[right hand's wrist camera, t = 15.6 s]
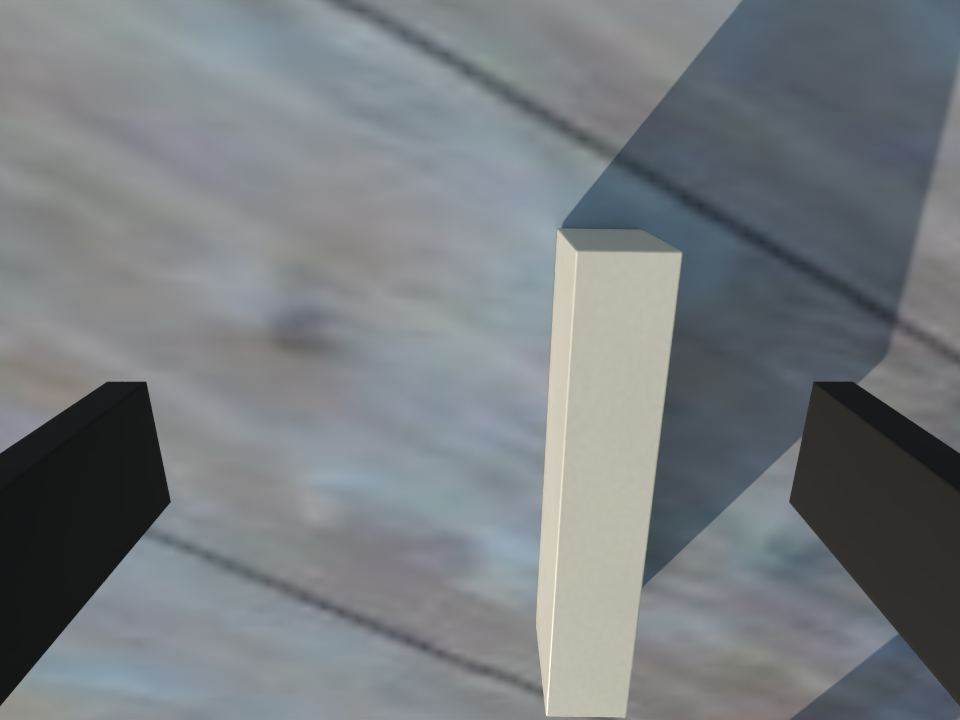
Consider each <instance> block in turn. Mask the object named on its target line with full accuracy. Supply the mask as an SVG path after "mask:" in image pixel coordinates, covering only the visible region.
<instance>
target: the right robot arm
mask: <svg viewBox="0 0 960 720" xmlns="http://www.w3.org/2000/svg"><path fill="white" fill-rule="evenodd" d="M170 502H171V501H170V496H169V491H168V486H167V481H166V476H165V471H164V466H163V462H162V457H161V452H160V447H159V442H158V437H157V432H156V427H155V422H154V417H153V412H152V407H151V403H150V398H149V393H148V388H147V383H146V382H106V383H105V384H103V385H102V386H100V387H99V388H97V389H96V390H94V391H93V392H91V393H90V394H88V395H87V396H85V397H84V398H82V399H81V400H79V401H78V402H76V403H75V404H73V405H72V406H70V407H69V408H67V409H66V410H64V411H63V412H61V413H60V414H58V415H57V416H55V417H54V418H52V419H51V420H50V421H48V422H47V423H45V424H44V425H42V426H41V427H39V428H38V429H36V430H35V431H33V432H32V433H30V434H29V435H27V436H26V437H24V438H23V439H21V440H20V441H18V442H17V443H15V444H14V445H12V446H11V447H9V448H8V449H6V450H5V451H3V452H2V453H0V706H1V704H2V703H3V702H4V701H5V700H6V698H7V697H8V696H9V695H10V694H11V692H12V691H13V690H14V689H15V688H16V687H17V685H18V684H19V683H20V682H21V681H22V679H23V678H24V677H25V676H26V675H27V673H28V672H29V671H30V670H31V669H32V667H33V666H34V665H35V664H36V663H37V661H38V660H39V659H40V658H41V657H42V655H43V654H44V653H45V652H46V651H47V649H48V648H49V647H50V646H51V645H52V643H53V642H54V641H55V640H56V639H57V637H58V636H59V635H60V634H61V633H62V631H63V630H64V629H65V628H66V627H67V625H68V624H69V623H70V622H71V621H72V620H73V618H74V617H75V616H76V615H77V614H78V612H79V611H80V610H81V609H82V608H83V606H84V605H85V604H86V603H87V602H88V600H89V599H90V598H91V597H92V596H93V594H94V593H95V592H96V591H97V590H98V588H99V587H100V586H101V585H102V584H103V582H104V581H105V580H106V579H107V578H108V576H109V575H110V574H111V573H112V572H113V570H114V569H115V568H116V567H117V566H118V564H119V563H120V562H121V561H122V560H123V559H124V557H125V556H126V555H127V554H128V553H129V551H130V550H131V549H132V548H133V547H134V545H135V544H136V543H137V542H138V541H139V539H140V538H141V537H142V536H143V535H144V533H145V532H146V531H147V530H148V529H149V527H150V526H151V525H152V524H153V523H154V521H155V520H156V519H157V518H158V517H159V515H160V514H161V513H162V512H163V511H164V509H165V508H166V507H167V506H168V505H169V503H170ZM789 502H790V503H791V505H792V506H793V507H794V508H795V509H796V511H797V512H798V513H799V514H800V515H801V517H802V518H803V519H804V520H805V521H806V523H807V524H808V525H809V526H810V527H811V529H812V530H813V531H814V532H815V533H816V535H817V536H818V537H819V538H820V539H821V541H822V542H823V543H824V544H825V545H826V547H827V548H828V549H829V550H830V551H831V553H832V554H833V555H834V556H835V557H836V559H837V560H838V561H839V562H840V563H841V564H842V566H843V567H844V568H845V569H846V570H847V572H848V573H849V574H850V575H851V576H852V578H853V579H854V580H855V581H856V582H857V584H858V585H859V586H860V587H861V588H862V590H863V591H864V592H865V593H866V594H867V596H868V597H869V598H870V599H871V600H872V602H873V603H874V604H875V605H876V606H877V608H878V609H879V610H880V611H881V612H882V614H883V615H884V616H885V617H886V618H887V620H888V621H889V622H890V623H891V624H892V625H893V627H894V628H895V629H896V630H897V631H898V633H899V634H900V635H901V636H902V637H903V639H904V640H905V641H906V642H907V643H908V645H909V646H910V647H911V648H912V649H913V651H914V652H915V653H916V654H917V655H918V657H919V658H920V659H921V660H922V661H923V663H924V664H925V665H926V666H927V667H928V669H929V670H930V671H931V672H932V673H933V675H934V676H935V677H936V678H937V679H938V681H939V682H940V683H941V684H942V685H943V687H944V688H945V689H946V690H947V691H948V692H949V694H950V695H951V696H952V697H953V698H954V700H955V701H956V702H957V703H958V704H959V706H960V453H958V452H957V451H955V450H954V449H952V448H951V447H949V446H948V445H946V444H945V443H943V442H942V441H940V440H939V439H937V438H936V437H934V436H933V435H931V434H930V433H928V432H927V431H925V430H924V429H922V428H921V427H919V426H918V425H916V424H915V423H913V422H912V421H910V420H909V419H908V418H906V417H905V416H903V415H902V414H900V413H899V412H897V411H896V410H894V409H893V408H891V407H890V406H888V405H887V404H885V403H884V402H882V401H881V400H879V399H878V398H876V397H875V396H873V395H872V394H870V393H869V392H867V391H866V390H864V389H863V388H861V387H860V386H858V385H857V384H855V383H854V382H814V383H813V388H812V393H811V398H810V403H809V407H808V412H807V417H806V422H805V427H804V432H803V437H802V442H801V447H800V452H799V457H798V462H797V466H796V471H795V476H794V481H793V486H792V491H791V496H790V501H789Z"/></svg>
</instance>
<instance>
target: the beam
mask: <svg viewBox="0 0 960 720" xmlns="http://www.w3.org/2000/svg"><path fill="white" fill-rule="evenodd" d="M682 256H683V252H682V251H680V250H679V249H677V248H675V247H673V246H671V245H669V244H668V243H666V242H664V241H662V240H660V239H658V238H657V237H655V236H653V235H651V234H649V233H647V232H646V231H644V230H642V229H571V228H559V229H558V230H557V247H556V266H555V284H554V303H553V322H552V340H551V359H550V377H549V396H548V414H547V433H546V451H545V470H544V488H543V507H542V525H541V544H540V562H539V581H538V599H537V618H536V628H537V637H538V646H539V655H540V664H541V674H542V683H543V692H544V701H545V710H546V715H547V716H579V717H626V714H627V706H628V698H629V690H630V682H631V673H632V665H633V657H634V649H635V641H636V633H637V624H638V616H639V608H640V600H641V592H642V583H643V575H644V567H645V559H646V551H647V543H648V534H649V526H650V518H651V510H652V502H653V494H654V485H655V477H656V469H657V461H658V453H659V444H660V436H661V428H662V420H663V412H664V404H665V395H666V387H667V379H668V371H669V363H670V354H671V346H672V338H673V330H674V322H675V314H676V305H677V297H678V289H679V281H680V273H681V264H682Z"/></svg>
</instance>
